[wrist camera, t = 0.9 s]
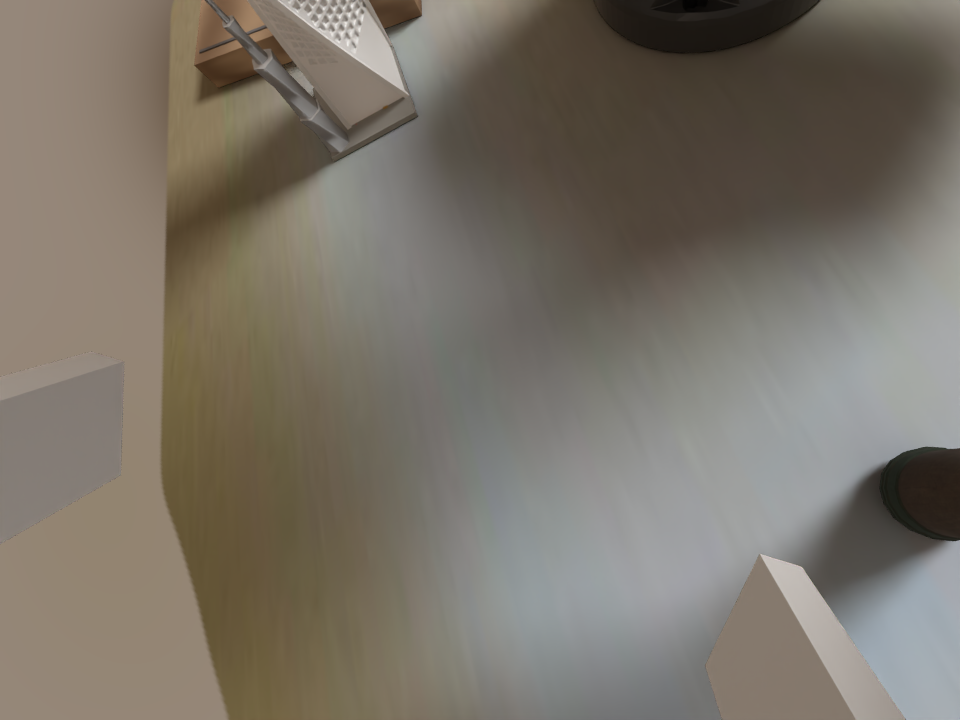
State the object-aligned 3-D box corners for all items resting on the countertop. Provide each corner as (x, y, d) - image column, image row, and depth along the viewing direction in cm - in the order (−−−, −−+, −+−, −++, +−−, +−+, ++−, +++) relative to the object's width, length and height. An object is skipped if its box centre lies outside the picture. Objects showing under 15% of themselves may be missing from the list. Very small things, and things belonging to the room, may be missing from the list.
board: (419, -56, 40) (404, -91, 37) (421, 15, 38) (406, -17, 35) (224, 22, 45) (200, -4, 43) (218, 87, 43) (193, 64, 41)
